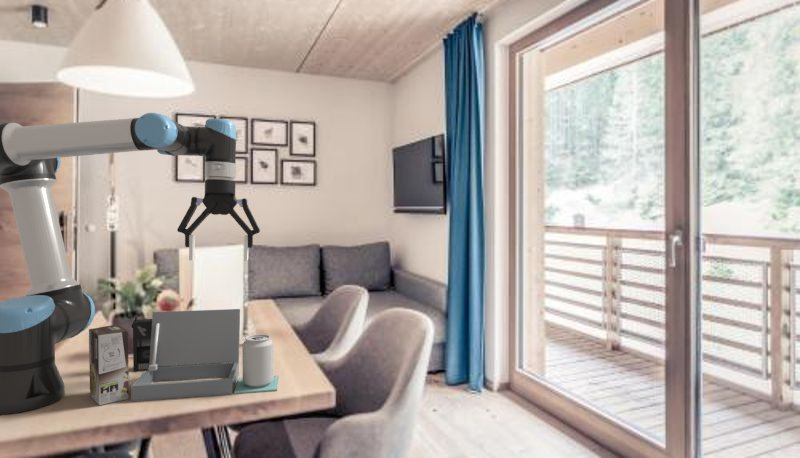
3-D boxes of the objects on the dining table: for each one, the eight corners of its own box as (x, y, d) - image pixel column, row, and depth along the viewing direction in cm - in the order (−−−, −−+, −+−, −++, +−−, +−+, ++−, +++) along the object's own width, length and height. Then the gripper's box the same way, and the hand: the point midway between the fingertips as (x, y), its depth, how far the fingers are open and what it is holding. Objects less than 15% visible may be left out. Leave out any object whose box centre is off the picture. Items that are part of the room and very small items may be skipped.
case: (131, 401, 109) (130, 327, 109) (154, 375, 127) (153, 311, 126) (231, 394, 114) (231, 323, 114) (240, 369, 132) (240, 308, 131)
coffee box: (130, 398, 111) (129, 330, 110) (98, 406, 106) (97, 335, 106) (119, 388, 118) (118, 323, 117) (89, 395, 113) (88, 327, 112)
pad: (234, 393, 114) (234, 392, 114) (239, 379, 124) (239, 378, 124) (276, 390, 116) (277, 389, 116) (278, 377, 126) (278, 375, 126)
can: (271, 376, 125) (271, 331, 125) (275, 386, 118) (275, 338, 118) (241, 380, 122) (241, 334, 122) (243, 390, 115) (243, 341, 115)
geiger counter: (175, 363, 137) (174, 311, 137) (173, 368, 133) (173, 314, 133) (134, 367, 134) (133, 314, 133) (131, 372, 129) (130, 317, 129)
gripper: (165, 176, 118) (164, 261, 119) (268, 180, 123) (267, 261, 124) (173, 178, 126) (172, 258, 126) (270, 182, 131) (269, 258, 131)
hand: (219, 260), depth 125 cm, fingers open, 13 cm apart
